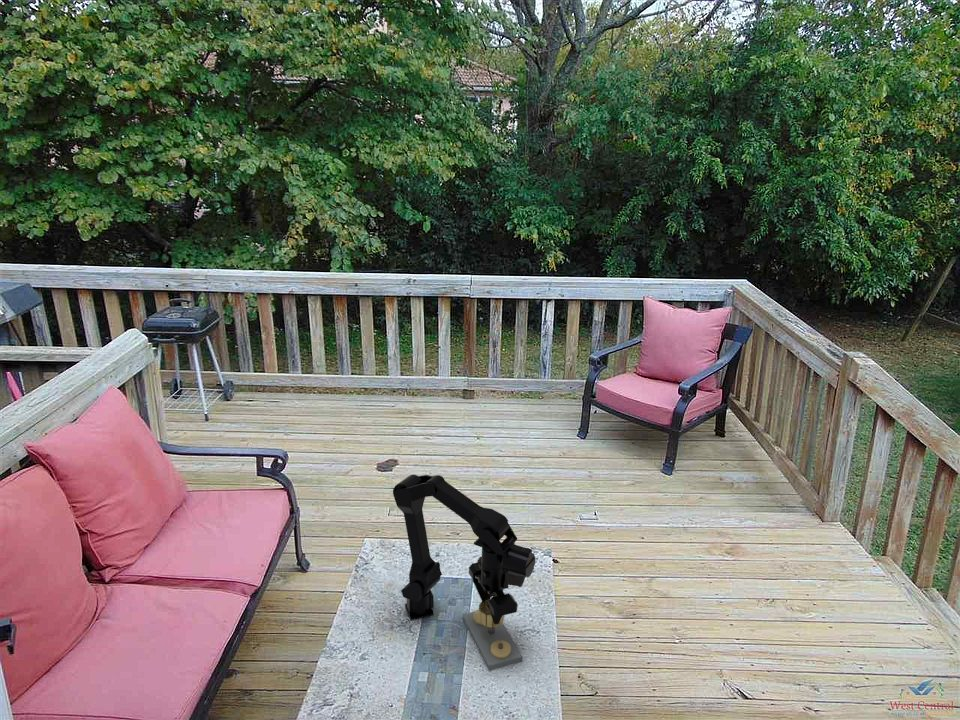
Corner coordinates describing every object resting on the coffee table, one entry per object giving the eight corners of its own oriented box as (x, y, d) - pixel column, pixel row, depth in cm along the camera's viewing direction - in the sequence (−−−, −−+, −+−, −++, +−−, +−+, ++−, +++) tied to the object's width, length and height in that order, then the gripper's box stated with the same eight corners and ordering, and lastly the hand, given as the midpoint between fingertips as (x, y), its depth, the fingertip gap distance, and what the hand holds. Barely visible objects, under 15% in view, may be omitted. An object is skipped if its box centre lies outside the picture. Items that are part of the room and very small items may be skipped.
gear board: (488, 670, 159) (489, 652, 157) (462, 619, 176) (462, 601, 174) (522, 661, 162) (523, 643, 160) (493, 611, 179) (493, 594, 177)
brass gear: (484, 629, 163) (484, 618, 162) (475, 613, 169) (475, 601, 167) (507, 623, 165) (508, 612, 164) (498, 607, 171) (498, 596, 170)
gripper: (538, 578, 156) (535, 632, 161) (508, 536, 173) (506, 586, 178) (495, 588, 152) (493, 642, 157) (468, 544, 169) (467, 595, 174)
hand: (491, 615), depth 166 cm, fingers closed on brass gear, 6 cm apart
